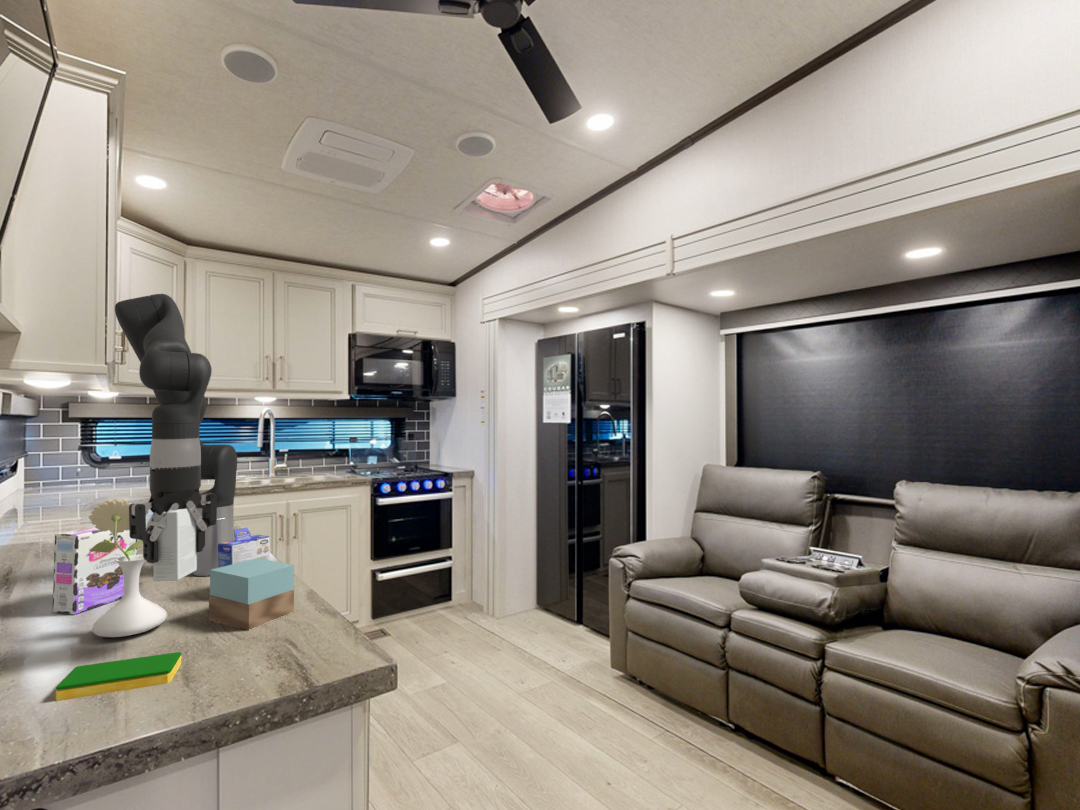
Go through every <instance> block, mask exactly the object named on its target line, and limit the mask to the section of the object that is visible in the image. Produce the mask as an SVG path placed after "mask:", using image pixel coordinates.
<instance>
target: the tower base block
mask: <svg viewBox="0 0 1080 810" xmlns="http://www.w3.org/2000/svg"><path fill="white" fill-rule="evenodd" d="M294 609H295V588H294V589H293V590H290V591H287V592H284V593H281V594H278V595H275V596H272V597H269V598H266V599H263V600H260V601H257V602H254V603H251V604H244V603H240V602H236V601H232V600H228V599H224V598H220V597H216V596H212V595H209V597H208V621H210V622H214V623H218V622H219V624H222V625H226V626H229V625H230V626H231V627H234V628H237V627H238V629H241V628H243V629H242V630H245V629H248V630H247V631H250V630H249V629H251V630H253V629H252V628H254V627H257V626H259V625H262V624H264V623H266V622H269V621H271V620H274V619H277V618H279V617H281V616H284V615H287V614H289V613H291V612H294V613H295V610H294ZM287 616H288V615H287ZM277 620H278V619H277ZM274 621H275V620H274ZM269 623H270V622H269ZM264 625H265V624H264ZM262 626H263V625H262ZM259 627H260V626H259ZM257 628H258V627H257ZM254 629H255V628H254Z"/></svg>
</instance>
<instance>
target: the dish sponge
mask: <svg viewBox="0 0 1080 810" xmlns="http://www.w3.org/2000/svg"><path fill="white" fill-rule="evenodd" d="M181 665H182V651H177V652H176V651H175V652H170V653H164V654H163V653H162V654H156V655H148V656H139V657H136V658H135V657H134V658H133V657H132V658H125V659H120V660H112V661H105V662H97V663H92V664H84V665H77V666H75V667H74V668H73V669H72V670H71V671H70V672H69V673H68V674H67V675H66V676H65V677H64V678H63V679H62V680H61V681H60V682H59V683H58V684H57V685H56V686H55V701H56V702H60V701H67V700H73V699H78V698H85V696H86V697H89V696H90V697H92V696H97V694H98V695H102V694H103V693H104V694H109V693H108V692H111V693H116V692H115V691H117V692H121V691H122V690H123V691H129V690H134V689H141V688H148V687H153V686H159V685H165V684H169V683H171V682H172V680H173V679H174V677H175V675H176V673H177V672H178V670H179V668H180V666H181ZM128 689H129V690H128ZM91 695H92V696H91Z"/></svg>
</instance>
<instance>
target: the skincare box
mask: <svg viewBox="0 0 1080 810" xmlns="http://www.w3.org/2000/svg"><path fill="white" fill-rule="evenodd" d="M164 514H166V512H163V513H162V514H161V515H158V514H157V513H156V512H154V513H153V512H152V515H153V522H159V521H160V520H161V518H162V516H163V515H164ZM165 521H166V520H165ZM153 529H154V526H153ZM156 541H159V542H158V562H156V563H152V564H153V565H152V566H153V569H152V571H153V582H175V581H176V582H177V581H180V580H181V579H183V578H185V577H187V576H188V575H190V574H192V572H194V571H196V570H197V547H196V524H195V523H194V521H193V518H192V516H191V514H190V512H189V510H188V508H184V509H178V510H177V511H171V512H167V526H166V528H165V529H163V530H162V531H161V533H160V535H159V536H158V538H157V540H156Z"/></svg>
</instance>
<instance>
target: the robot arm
mask: <svg viewBox="0 0 1080 810" xmlns="http://www.w3.org/2000/svg"><path fill="white" fill-rule="evenodd" d="M114 313H115V317H116V320H117V322H118V323H119V326H120V328H121V330H122V331H123V334H124V335H125V337H126V338H127V339H126V340H127V341H128V343H129V345H130V347H132V350H133V352H134V353H135V355H136V357H137V359H138V361H139V362H140V363H139V369H138V370H139V371H138V373H139V379H140V380H141V381H140V382H141V383H142V384H143V386H145V387H146V388H148V389H150V390H152V391H153V394H154V396H155V398H156V401H157V403H158V404H159V405H158V406H156V407H154V408H153V410H152V413H151V444H150V451H149V492H150V498H149V500H148V501H147V502H142V503H137V502H131V503H132V504H130V505H129V532H130V538H132V539H137V541H141V540H142V541H143V545H142V546H143V547H142V548H143V549H142V550H143V551H142V554H143V558H144V560H145V561H146V562H147V563H149V564H153V563H156V562H158V542H159V541H156V540H157V538H158V536H159V535H160V533H161V531H162V530H163V529H165V528H166V526H167V512H171V511H177V510H178V509H184V508H188V510H189V512H190V514H191V516H192V518H193V521H194V523H195V524H196V547H197V570H196V571H194V572H192V573H191V575H192V576H195V577H196V576H197V577H198V576H199V577H205V576H206V577H207V576H209V577H210V570H212V569H216V568H218V544H220V543H224V542H228V541H232V540H236V539H235V535H234V531H233V530H234V508H235V507H234V506H235V505H234V501H235V495H236V490H237V489H236V485H237V471H238V470H237V469H238V455H237V451H236V449H235V448H234V446H232V444H231V445H230V444H205V443H203V442H202V440H201V438H200V426H201V424H202V422H203V419H204V417H205V415H206V412H207V407H208V406H207V405H208V404H207V400H206V396H205V394H206V391H207V388H208V386H209V384H210V380H211V377H212V365H211V363H210V361H209V359H208V358H207V357H206V356H205V355H204V354H202V353H197V352H192V351H191V348H190V346H189V344H188V342H187V340H186V337H185V333H186V332H185V326H184V325H185V324H184V321H183V320H184V319H183V317H182V313H181V312H180V309H179V307H178V305H177V303H176V302H175V300H174V299H173V298H172V297H171V296H170V295H168V294H166V293H155V294H150V295H144V296H139V297H136V298H135V297H134V298H129V299H125V300H124V299H123V300H121V301H118V302H117V303H115V306H114ZM205 480H206V481H207V480H210V481H211V480H213V481H214V483H213V486H212V487H211V488H210V489H209V490H206V491H204V492H201V493H200V488H201V485H202V482H201V481H205ZM149 510H150V511H151V512H152V515H151V516H150V517H149V519H148V521H147V519H146V518H147V517H146V516H147V515H148V514H149ZM154 512H156V513H157V514H158V515H161V514H162V513H163V512H166V514H164V515H163V516H162V518H161V520H160V521H159V522H153V513H154ZM165 520H166V521H165ZM153 526H154V529H153Z"/></svg>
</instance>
